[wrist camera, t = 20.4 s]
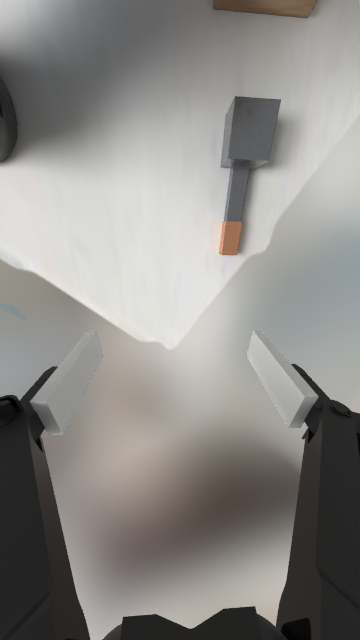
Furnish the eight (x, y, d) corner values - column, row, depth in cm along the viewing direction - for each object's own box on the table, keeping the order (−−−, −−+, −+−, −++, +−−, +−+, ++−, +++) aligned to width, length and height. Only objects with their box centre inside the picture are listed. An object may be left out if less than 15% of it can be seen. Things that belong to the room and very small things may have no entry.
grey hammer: (225, 115, 30) (235, 96, 26) (265, 117, 31) (281, 99, 26) (211, 253, 41) (216, 256, 37) (240, 253, 41) (249, 257, 37)
